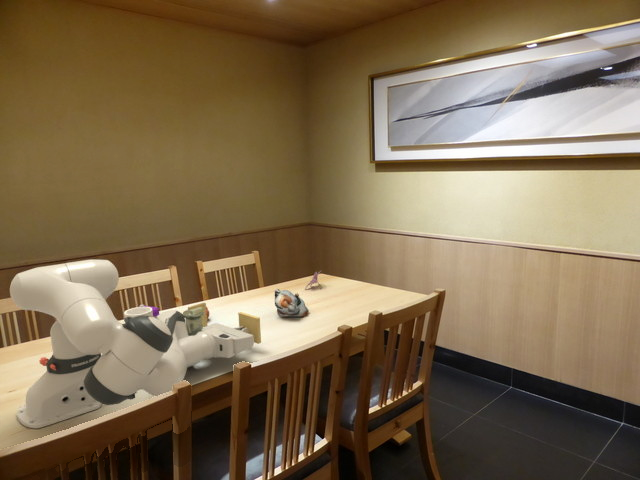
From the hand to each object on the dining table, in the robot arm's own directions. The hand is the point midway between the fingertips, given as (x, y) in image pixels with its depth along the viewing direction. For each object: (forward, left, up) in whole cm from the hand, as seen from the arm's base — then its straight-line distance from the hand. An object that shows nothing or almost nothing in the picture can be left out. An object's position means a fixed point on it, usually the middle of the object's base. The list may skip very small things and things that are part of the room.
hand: (245, 329), depth 156 cm
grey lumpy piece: (+36, +13, -8) cm, 39 cm away
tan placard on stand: (+2, +2, -6) cm, 7 cm away
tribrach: (-9, +16, -8) cm, 20 cm away
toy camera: (-11, +45, -8) cm, 47 cm away
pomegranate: (+9, +39, -8) cm, 41 cm away
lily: (+72, +32, -8) cm, 79 cm away
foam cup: (-19, +35, -8) cm, 41 cm away
